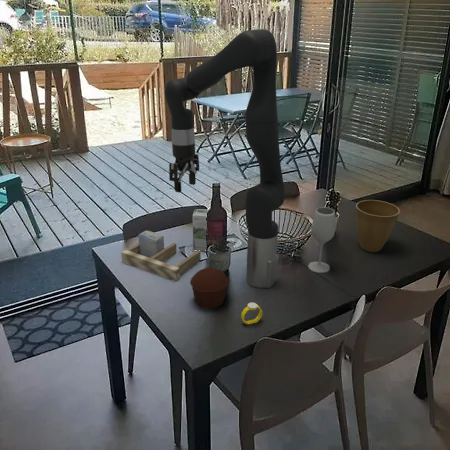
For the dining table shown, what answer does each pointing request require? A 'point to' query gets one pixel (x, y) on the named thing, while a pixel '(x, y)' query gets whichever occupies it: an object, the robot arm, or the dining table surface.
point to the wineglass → (322, 234)
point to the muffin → (209, 287)
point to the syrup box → (199, 229)
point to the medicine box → (150, 243)
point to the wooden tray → (160, 261)
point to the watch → (251, 307)
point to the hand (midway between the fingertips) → (185, 188)
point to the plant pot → (375, 223)
